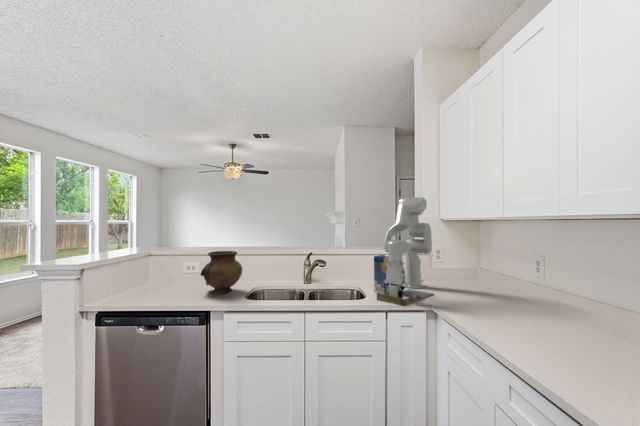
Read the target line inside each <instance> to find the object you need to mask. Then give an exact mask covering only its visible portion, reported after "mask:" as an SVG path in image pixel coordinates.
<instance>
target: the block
mask: <svg viewBox="0 0 640 426" xmlns="http://www.w3.org/2000/svg"><path fill="white" fill-rule="evenodd" d="M398 291H399V288H398V285H394V284H393V285H389V291H388V292H389V296H394V297H398ZM402 298H403V299H404V295H403V296H402Z"/></svg>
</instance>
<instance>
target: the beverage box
mask: <svg viewBox="0 0 640 426" xmlns="http://www.w3.org/2000/svg"><path fill="white" fill-rule="evenodd" d="M388 266H389V263H388V254H378V255H374V256H373V275H374V277H373V289H374V290H373V292H374V293H376V294H377V293H380V294H383V293H387V292H389V289H388V286H387V285H386V284H385V282H384V281H385V279H386V275H387V267H388Z"/></svg>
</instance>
